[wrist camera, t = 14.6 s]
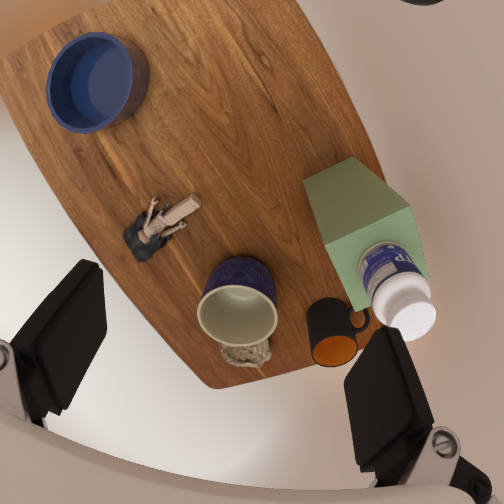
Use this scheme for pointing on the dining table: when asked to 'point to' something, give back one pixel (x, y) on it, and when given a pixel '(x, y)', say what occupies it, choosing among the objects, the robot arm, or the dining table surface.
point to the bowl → (96, 82)
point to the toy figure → (157, 227)
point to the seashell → (246, 354)
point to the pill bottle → (397, 289)
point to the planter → (239, 303)
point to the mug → (333, 332)
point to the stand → (360, 221)
